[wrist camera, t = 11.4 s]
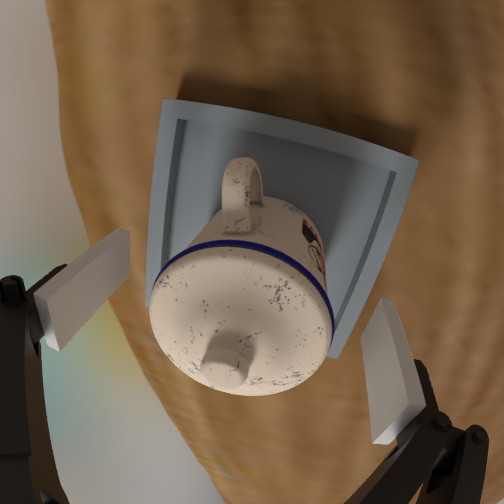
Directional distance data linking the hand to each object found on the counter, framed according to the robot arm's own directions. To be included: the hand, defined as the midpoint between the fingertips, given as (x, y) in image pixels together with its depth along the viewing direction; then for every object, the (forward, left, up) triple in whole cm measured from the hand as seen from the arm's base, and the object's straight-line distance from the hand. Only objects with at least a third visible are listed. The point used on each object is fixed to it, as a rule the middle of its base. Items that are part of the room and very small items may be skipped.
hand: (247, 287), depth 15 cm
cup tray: (0, 0, -8) cm, 8 cm away
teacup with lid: (0, 0, -7) cm, 7 cm away
